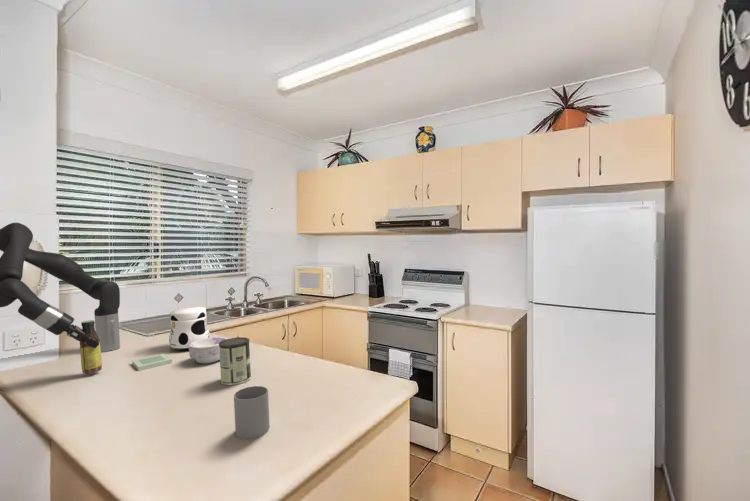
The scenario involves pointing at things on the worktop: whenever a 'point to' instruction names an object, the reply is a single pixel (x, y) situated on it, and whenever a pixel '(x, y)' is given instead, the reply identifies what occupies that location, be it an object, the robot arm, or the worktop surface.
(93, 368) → the sauce bottle
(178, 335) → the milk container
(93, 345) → the robot arm
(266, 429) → the cup
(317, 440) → the worktop surface
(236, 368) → the coffee can
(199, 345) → the paper bowls
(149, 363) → the trivet
